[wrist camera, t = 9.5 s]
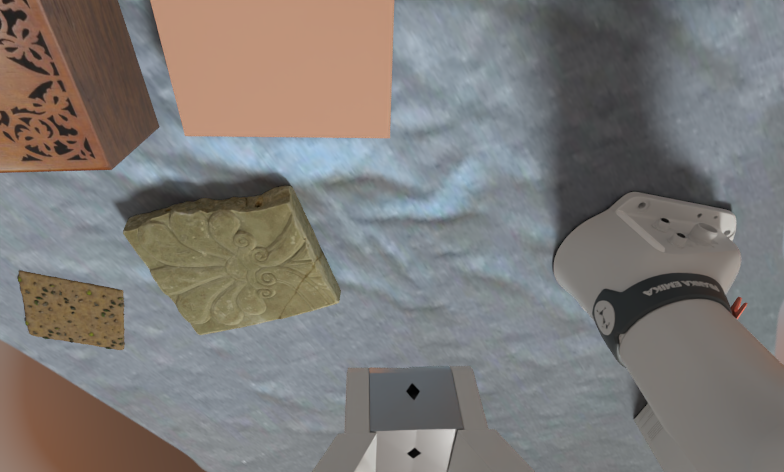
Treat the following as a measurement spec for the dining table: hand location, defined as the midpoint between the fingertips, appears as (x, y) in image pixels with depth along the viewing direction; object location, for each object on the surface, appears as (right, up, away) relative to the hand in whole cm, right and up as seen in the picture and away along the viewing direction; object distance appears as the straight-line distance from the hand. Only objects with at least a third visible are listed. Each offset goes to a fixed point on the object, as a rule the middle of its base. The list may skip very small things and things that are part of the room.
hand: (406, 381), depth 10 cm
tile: (0, +20, +25) cm, 32 cm away
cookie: (-42, -6, +46) cm, 63 cm away
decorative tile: (-19, +1, +42) cm, 46 cm away
